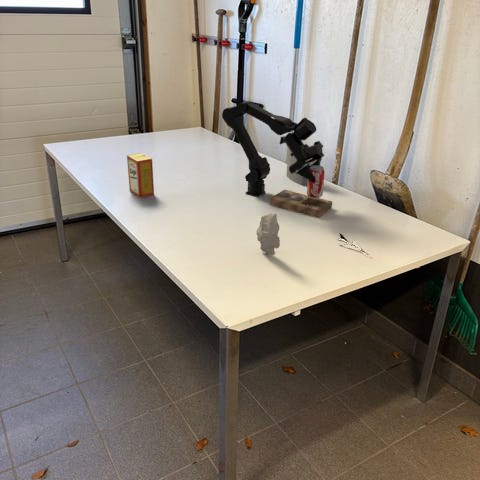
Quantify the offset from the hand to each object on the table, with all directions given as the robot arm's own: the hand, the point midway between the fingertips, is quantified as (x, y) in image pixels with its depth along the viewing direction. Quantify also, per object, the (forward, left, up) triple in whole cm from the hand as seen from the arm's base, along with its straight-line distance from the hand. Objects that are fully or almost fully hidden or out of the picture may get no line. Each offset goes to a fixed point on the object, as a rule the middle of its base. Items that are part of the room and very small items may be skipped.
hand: (318, 180), depth 186 cm
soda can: (-1, +1, -7) cm, 7 cm away
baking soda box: (-68, -27, -13) cm, 75 cm away
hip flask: (-23, +28, -13) cm, 38 cm away
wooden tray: (-7, 0, -13) cm, 14 cm away
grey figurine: (+3, -43, -13) cm, 45 cm away
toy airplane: (+23, -21, -13) cm, 34 cm away
